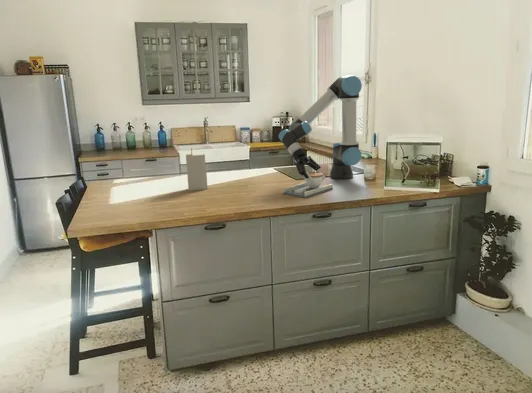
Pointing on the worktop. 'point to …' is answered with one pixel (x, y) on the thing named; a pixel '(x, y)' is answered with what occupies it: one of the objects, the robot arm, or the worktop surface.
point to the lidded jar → (315, 179)
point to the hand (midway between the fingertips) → (317, 180)
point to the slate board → (300, 191)
